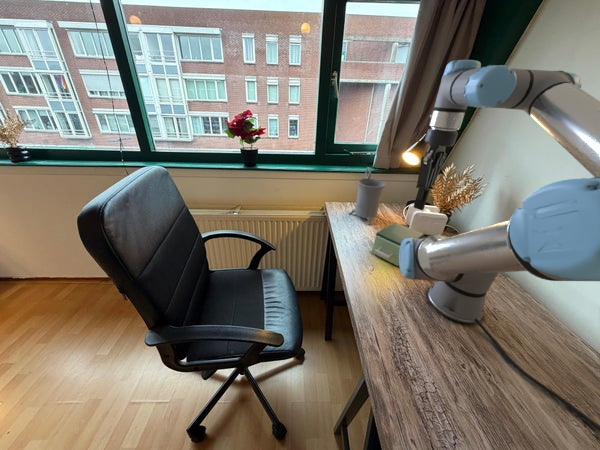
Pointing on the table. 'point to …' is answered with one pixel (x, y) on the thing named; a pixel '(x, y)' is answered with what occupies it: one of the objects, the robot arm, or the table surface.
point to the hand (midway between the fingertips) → (418, 208)
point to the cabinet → (398, 233)
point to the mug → (368, 197)
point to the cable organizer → (426, 220)
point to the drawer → (386, 250)
